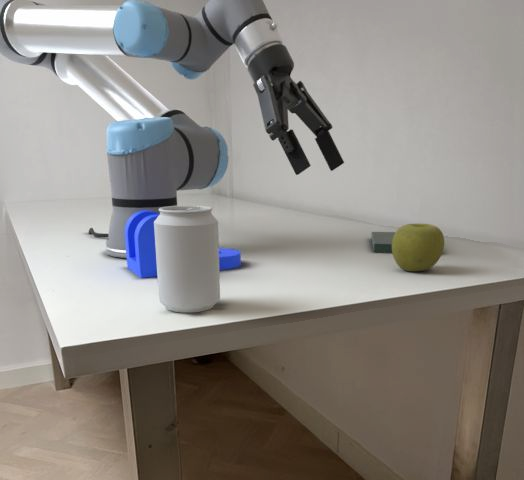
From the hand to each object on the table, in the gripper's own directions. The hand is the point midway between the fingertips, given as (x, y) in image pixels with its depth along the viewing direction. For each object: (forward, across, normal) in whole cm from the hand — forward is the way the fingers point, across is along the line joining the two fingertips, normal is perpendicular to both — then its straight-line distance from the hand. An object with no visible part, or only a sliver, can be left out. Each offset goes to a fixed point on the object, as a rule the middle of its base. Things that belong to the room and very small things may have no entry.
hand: (321, 168), depth 96 cm
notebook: (+18, +18, 0) cm, 26 cm away
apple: (+23, -4, -8) cm, 24 cm away
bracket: (+6, -21, +19) cm, 29 cm away
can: (+13, -40, +7) cm, 42 cm away
